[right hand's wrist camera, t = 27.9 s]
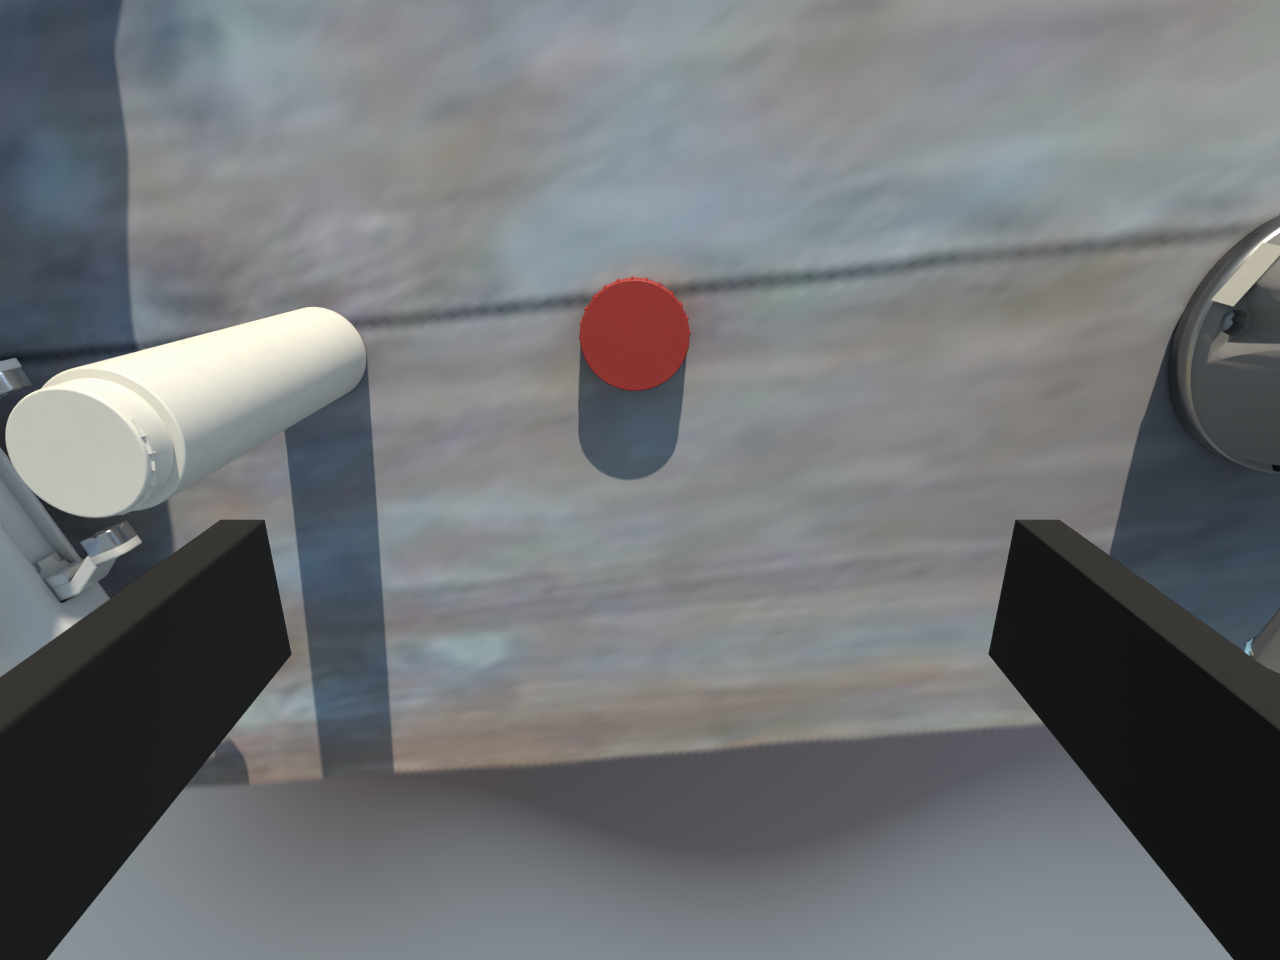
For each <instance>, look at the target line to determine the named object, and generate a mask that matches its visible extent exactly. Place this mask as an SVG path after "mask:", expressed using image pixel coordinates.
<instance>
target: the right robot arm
mask: <svg viewBox="0 0 1280 960" xmlns="http://www.w3.org/2000/svg"><path fill="white" fill-rule="evenodd" d="M1169 383H1170V391H1171V396H1172V401H1173V404H1174V407H1175V409H1176V412H1177V414H1178V416H1179V418H1180V420H1181V422H1182V423H1183V425H1184V427H1185V428H1186V430H1187V431H1188V432H1189V433H1190V434H1191V436H1192V437H1193V438H1194V439H1195V440H1196V441H1198V442H1199V443H1200V444H1201V445H1202V446H1204V447H1205V448H1206V449H1208V450H1209V451H1211V452H1213V453H1215V454H1217V455H1219V456H1221V457H1223V458H1226V459H1228V460H1230V461H1233V462H1235V463H1238V464H1240V465H1243V466H1245V467H1248V468H1251V469H1254V470H1258V471H1262V472H1267V473H1274V474H1280V215H1279V216H1278V217H1276V218H1274V219H1272V220H1270V221H1268V222H1266V223H1265V224H1263V225H1262V226H1260V227H1259V228H1257V229H1255V230H1254V231H1252V232H1251V233H1250V234H1248V235H1247V236H1246V237H1244V238H1243V239H1242V240H1240V241H1239V242H1238V243H1237V244H1236V245H1235V246H1234V247H1232V248H1231V249H1230V250H1229V251H1228V252H1227V253H1226V254H1225V255H1224V256H1223V257H1222V258H1221V259H1220V260H1219V261H1218V262H1217V263H1216V264H1215V265H1214V267H1213V268H1212V269H1211V270H1210V271H1209V272H1208V274H1207V275H1206V276H1205V278H1204V279H1203V280H1202V282H1201V283H1200V285H1199V286H1198V287H1197V289H1196V291H1195V292H1194V294H1193V295H1192V297H1191V299H1190V300H1189V302H1188V304H1187V306H1186V308H1185V310H1184V312H1183V314H1182V317H1181V319H1180V322H1179V324H1178V327H1177V330H1176V333H1175V336H1174V339H1173V344H1172V349H1171V354H1170V362H1169ZM290 656H291V650H290V645H289V640H288V635H287V630H286V625H285V620H284V615H283V610H282V605H281V600H280V595H279V590H278V585H277V580H276V575H275V570H274V565H273V560H272V555H271V550H270V545H269V540H268V535H267V530H266V525H265V520H220V521H218V522H217V523H215V524H214V525H213V526H211V527H210V528H208V529H207V530H206V531H204V532H203V533H201V534H200V535H199V536H197V537H196V538H194V539H193V540H192V541H190V542H189V543H187V544H186V545H185V546H183V547H182V548H180V549H179V550H178V551H176V552H175V553H173V554H172V555H171V556H169V557H168V558H166V559H165V560H164V561H162V562H161V563H159V564H158V565H157V566H155V567H154V568H152V569H151V570H150V571H148V572H147V573H145V574H144V575H143V576H141V577H140V578H138V579H137V580H136V581H134V582H133V583H131V584H130V585H129V586H127V587H126V588H124V589H123V590H122V591H120V592H119V593H117V594H116V595H115V596H113V597H112V598H110V599H109V600H108V601H106V602H105V603H103V604H102V605H101V606H99V607H98V608H96V609H95V610H94V611H92V612H91V613H89V614H88V615H87V616H85V617H84V618H82V619H81V620H80V621H78V622H77V623H75V624H74V625H73V626H71V627H70V628H68V629H67V630H66V631H64V632H63V633H61V634H60V635H59V636H57V637H56V638H54V639H53V640H52V641H50V642H49V643H47V644H46V645H45V646H43V647H42V648H40V649H39V650H38V651H36V652H35V653H33V654H32V655H31V656H29V657H28V658H26V659H25V660H24V661H22V662H21V663H19V664H18V665H17V666H15V667H14V668H12V669H11V670H10V671H8V672H7V673H5V674H4V675H3V676H1V677H0V960H46V959H47V958H48V957H49V956H50V954H51V953H52V952H53V951H54V949H55V948H56V947H57V946H58V944H59V943H60V942H61V941H62V939H63V938H64V937H65V936H66V935H67V933H68V932H69V931H70V930H71V928H72V927H73V926H74V925H75V923H76V922H77V921H78V919H79V918H80V917H81V916H82V915H83V913H84V912H85V911H86V910H87V908H88V907H89V906H90V905H91V903H92V902H93V901H94V900H95V898H96V897H97V896H98V895H99V893H100V892H101V891H102V890H103V888H104V887H105V886H106V885H107V883H108V882H109V881H110V880H111V878H112V877H113V876H114V875H115V873H116V872H117V871H118V870H119V868H120V867H121V866H122V865H123V864H124V862H125V861H126V860H127V859H128V857H129V856H130V855H131V854H132V852H133V851H134V850H135V849H136V847H137V846H138V845H139V844H140V842H141V841H142V840H143V839H144V837H145V836H146V835H147V834H148V832H149V831H150V830H151V829H152V827H153V826H154V825H155V824H156V822H157V821H158V820H159V819H160V817H161V816H162V815H163V814H164V812H165V811H166V810H167V809H168V807H169V806H170V805H171V804H172V802H173V801H174V800H175V799H176V798H177V796H178V795H179V794H180V793H181V791H182V790H183V789H184V788H185V786H186V785H187V784H188V783H189V781H190V780H191V779H192V778H193V776H194V775H195V774H196V773H197V771H198V770H199V769H200V768H201V766H202V765H203V764H204V763H205V761H206V760H207V759H208V758H209V756H210V755H211V754H212V753H213V751H214V750H215V749H216V748H217V746H218V745H219V744H220V743H221V741H222V740H223V739H224V738H225V736H226V735H227V734H228V733H229V732H230V730H231V729H232V728H233V727H234V725H235V724H236V723H237V722H238V720H239V719H240V718H241V717H242V715H243V714H244V713H245V712H246V710H247V709H248V708H249V707H250V705H251V704H252V703H253V702H254V700H255V699H256V698H257V697H258V695H259V694H260V693H261V692H262V690H263V689H264V688H265V687H266V685H267V684H268V683H269V682H270V680H271V679H272V678H273V677H274V675H275V674H276V673H277V672H278V670H279V669H280V668H281V667H282V666H283V664H284V663H285V662H286V661H287V659H288V658H289V657H290ZM989 656H990V657H991V658H992V659H993V661H994V662H995V663H996V664H997V666H998V667H999V668H1000V669H1001V670H1002V672H1003V673H1004V674H1005V675H1006V677H1007V678H1008V679H1009V680H1010V682H1011V683H1012V684H1013V685H1014V687H1015V688H1016V689H1017V690H1018V692H1019V693H1020V694H1021V695H1022V697H1023V698H1024V699H1025V700H1026V702H1027V703H1028V704H1029V705H1030V707H1031V708H1032V709H1033V710H1034V712H1035V713H1036V714H1037V715H1038V717H1039V718H1040V719H1041V720H1042V722H1043V723H1044V724H1045V725H1046V727H1047V728H1048V729H1049V730H1050V731H1051V733H1052V734H1053V735H1054V736H1055V738H1056V739H1057V740H1058V741H1059V743H1060V744H1061V745H1062V746H1063V748H1064V749H1065V750H1066V751H1067V753H1068V754H1069V755H1070V756H1071V758H1072V759H1073V760H1074V761H1075V763H1076V764H1077V765H1078V766H1079V768H1080V769H1081V770H1082V771H1083V773H1084V774H1085V775H1086V776H1087V778H1088V779H1089V780H1090V781H1091V783H1092V784H1093V785H1094V786H1095V788H1096V789H1097V790H1098V791H1099V792H1100V794H1101V795H1102V796H1103V798H1104V799H1105V800H1106V801H1107V803H1108V804H1109V805H1110V806H1111V807H1112V809H1113V810H1114V811H1115V812H1116V814H1117V815H1118V816H1119V817H1120V819H1121V820H1122V821H1123V822H1124V824H1125V825H1126V826H1127V827H1128V829H1129V830H1130V831H1131V832H1132V834H1133V835H1134V836H1135V837H1136V839H1137V840H1138V841H1139V842H1140V844H1141V845H1142V846H1143V847H1144V849H1145V850H1146V851H1147V852H1148V854H1149V855H1150V856H1151V857H1152V859H1153V860H1154V861H1155V862H1156V864H1157V865H1158V866H1159V867H1160V869H1161V870H1162V871H1163V872H1164V873H1165V875H1166V876H1167V877H1168V878H1169V880H1170V881H1171V882H1172V883H1173V885H1174V886H1175V887H1176V888H1177V890H1178V891H1179V892H1180V893H1181V895H1182V896H1183V897H1184V898H1185V900H1186V901H1187V902H1188V903H1189V905H1190V906H1191V907H1192V908H1193V910H1194V911H1195V912H1196V913H1197V914H1198V916H1199V917H1200V918H1201V920H1202V921H1203V922H1204V923H1205V925H1206V926H1207V927H1208V928H1209V930H1210V931H1211V932H1212V933H1213V934H1214V936H1215V937H1216V938H1217V939H1218V941H1219V942H1220V943H1221V944H1222V946H1223V947H1224V948H1225V949H1226V951H1227V952H1228V953H1229V954H1230V956H1231V957H1232V958H1233V959H1234V960H1280V609H1279V610H1278V611H1277V612H1276V614H1275V615H1274V616H1273V617H1272V618H1271V620H1270V621H1269V622H1268V623H1267V625H1266V626H1265V627H1264V628H1263V629H1262V631H1261V632H1260V633H1259V634H1258V636H1256V637H1254V638H1253V639H1251V640H1249V641H1248V642H1247V643H1246V644H1245V645H1244V647H1243V649H1242V650H1241V649H1240V648H1238V647H1237V646H1235V645H1234V644H1233V643H1231V642H1230V641H1228V640H1227V639H1226V638H1224V637H1223V636H1221V635H1220V634H1219V633H1217V632H1216V631H1214V630H1213V629H1212V628H1210V627H1209V626H1207V625H1206V624H1205V623H1203V622H1202V621H1200V620H1199V619H1198V618H1196V617H1195V616H1193V615H1192V614H1191V613H1189V612H1188V611H1186V610H1185V609H1184V608H1182V607H1181V606H1179V605H1178V604H1177V603H1175V602H1174V601H1172V600H1171V599H1170V598H1168V597H1167V596H1165V595H1164V594H1163V593H1161V592H1160V591H1158V590H1157V589H1156V588H1154V587H1153V586H1151V585H1150V584H1149V583H1147V582H1146V581H1144V580H1143V579H1142V578H1140V577H1139V576H1137V575H1136V574H1135V573H1133V572H1132V571H1130V570H1129V569H1128V568H1126V567H1125V566H1123V565H1122V564H1121V563H1119V562H1118V561H1116V560H1115V559H1114V558H1112V557H1111V556H1109V555H1108V554H1107V553H1105V552H1104V551H1102V550H1101V549H1100V548H1098V547H1097V546H1095V545H1094V544H1093V543H1091V542H1090V541H1088V540H1087V539H1086V538H1084V537H1083V536H1081V535H1080V534H1079V533H1077V532H1076V531H1074V530H1073V529H1072V528H1070V527H1069V526H1067V525H1066V524H1065V523H1063V522H1062V521H1060V520H1015V525H1014V530H1013V535H1012V540H1011V545H1010V550H1009V555H1008V560H1007V565H1006V570H1005V575H1004V580H1003V585H1002V590H1001V595H1000V600H999V605H998V610H997V615H996V620H995V625H994V630H993V635H992V640H991V645H990V650H989Z"/></svg>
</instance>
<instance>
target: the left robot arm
mask: <svg viewBox="0 0 1280 960" xmlns="http://www.w3.org/2000/svg"><path fill="white" fill-rule="evenodd" d="M33 385H34V384H33V382H32V381H31V379H30V378H29V376H28V375H27V373H26V372H25V370H24V369H23V367H22V366H21V364H20V363H19V361H18V360H17V359H16V358H12V359H8V360H3V361H0V398H1V397H5V396H8V395H11V394H14V393H16V392H18V391H21V389H24V388H28V387H30V386H33ZM80 543H81V545H82V546H83V548H84V549H85V551H86V552H87V554H88V556H87V557H86V558H83V559H81V558H80V556H79V555H78V554H77V552H76V551H75V549H74V548H73V547H72V545H71V544H70V542H69V541H68V540H67V538H66V537H65V536H64V534H63V533H62V531H61V530H60V529H59V527H58V526H57V524H56V523H55V522H54V520H53V519H52V518H51V516H50V515H49V513H48V512H47V511H46V509H45V508H44V507H43V505H42V504H41V502H40V501H39V500H38V498H37V497H36V495H35V494H34V493H33V491H32V490H31V489H29V488H28V486H27V485H26V484H25V483H24V482H23V481H22V479H21V478H20V476H19V475H18V473H17V472H16V470H15V468H14V466H13V465H12V462H11V461H10V460H9V458H8V457H7V455H6V454H5V453H4V451H3V450H2V448H1V447H0V677H1V676H3V675H4V674H5V673H7V672H8V671H10V670H11V669H12V668H14V667H15V666H17V665H18V664H19V663H21V662H22V661H24V660H25V659H26V658H28V657H29V656H31V655H32V654H33V653H35V652H36V651H38V650H39V649H40V648H42V647H43V646H45V645H46V644H47V643H49V642H50V641H52V640H53V639H54V638H56V637H57V636H59V635H60V634H61V633H63V632H64V631H66V630H67V629H68V628H70V627H71V626H73V625H74V624H75V623H77V622H78V621H80V620H81V619H82V618H84V617H85V616H87V615H88V614H89V613H91V612H92V611H94V610H95V609H96V608H98V607H99V606H101V605H102V604H103V603H105V602H106V601H108V600H109V599H110V598H109V596H108V595H107V594H106V592H105V591H104V589H103V588H102V587H101V585H100V584H99V583H98V581H99V580H101V579H102V578H104V577H105V576H107V574H108V573H109V571H110V569H111V568H112V566H113V564H114V562H115V561H116V559H117V557H119V556H121V555H123V554H125V553H127V552H129V551H130V550H132V549H133V548H135V547H136V546H138V545H139V544H141V543H142V541H141V539H140V538H139V537H138V535H137V534H136V532H135V531H134V530H133V528H132V527H131V525H130V524H129V523H128V521H127V520H124V521H122V522H120V523H118V524H116V525H112V526H109V527H107V528H104V529H102V530H100V531H98V532H97V533H95V535H92V536H90V537H88V538H86V539H84V540H83V541H81V542H80Z"/></svg>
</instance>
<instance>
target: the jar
mask: <svg viewBox="0 0 1280 960" xmlns="http://www.w3.org/2000/svg"><path fill="white" fill-rule="evenodd" d="M365 367H366V351H365V347H364V344H363V341H362V339H361V337H360V335H359V333H358V332H357V330H356V329H355V328H354V327H353V325H352V324H351V323H350V322H349V321H347V320H346V319H345V318H344V317H342V316H341V315H339V314H337V313H335V312H333V311H331V310H328V309H325V308H319V307H307V308H302V309H298V310H295V311H291V312H287V313H283V314H279V315H275V316H272V317H268V318H264V319H260V320H256V321H252V322H249V323H245V324H241V325H237V326H233V327H229V328H226V329H222V330H218V331H214V332H210V333H206V334H203V335H199V336H195V337H191V338H187V339H183V340H180V341H176V342H172V343H168V344H164V345H161V346H157V347H153V348H149V349H145V350H141V351H138V352H134V353H130V354H126V355H122V356H118V357H115V358H111V359H107V360H103V361H99V362H95V363H92V364H88V365H84V366H80V367H76V368H72V369H69V370H66V371H64V372H61V373H59V374H57V375H56V376H54V377H53V378H51V379H50V380H49V381H48V382H46V384H45V385H44V386H43V387H42V388H41V389H40V390H37V391H34V392H32V393H30V394H29V395H27V396H25V397H24V398H23V399H22V400H21V401H19V403H18V404H17V405H16V406H15V407H14V409H13V410H12V412H11V414H10V416H9V419H8V421H7V426H6V437H5V439H6V447H7V451H8V455H9V457H10V460H11V462H12V465H13V466H14V468H15V470H16V472H17V473H18V475H19V476H20V478H21V479H22V481H23V482H24V483H25V484H26V485H27V486H28V488H29V489H31V490H32V491H33V492H34V493H35V494H36V495H37V496H38V497H40V498H41V499H42V500H44V501H45V502H47V503H48V504H50V505H51V506H53V507H55V508H57V509H59V510H61V511H64V512H66V513H69V514H73V515H76V516H81V517H87V518H104V517H110V516H115V515H124V514H126V513H128V512H131V511H138V510H143V509H148V508H151V507H154V506H156V505H158V504H160V503H162V502H164V501H165V500H167V499H169V498H170V497H172V496H174V495H176V494H177V493H179V492H181V491H182V490H184V489H186V488H187V487H189V486H191V485H192V484H194V483H196V482H198V481H199V480H201V479H203V478H204V477H206V476H208V475H209V474H211V473H213V472H214V471H216V470H218V469H220V468H221V467H223V466H225V465H226V464H228V463H230V462H231V461H233V460H235V459H237V458H238V457H240V456H242V455H243V454H245V453H247V452H248V451H250V450H252V449H253V448H255V447H257V446H259V445H260V444H262V443H264V442H265V441H267V440H269V439H270V438H272V437H274V436H275V435H277V434H279V433H281V432H282V431H284V430H286V429H287V428H289V427H291V426H292V425H294V424H296V423H297V422H299V421H301V420H303V419H304V418H306V417H308V416H309V415H311V414H313V413H314V412H316V411H318V410H319V409H321V408H323V407H325V406H326V405H328V404H330V403H331V402H333V401H335V400H336V399H338V398H340V397H342V396H343V395H345V394H347V393H348V392H350V391H351V390H353V389H354V388H355V387H356V386H357V385H358V383H359V382H360V381H361V379H362V377H363V374H364V372H365Z"/></svg>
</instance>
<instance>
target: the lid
mask: <svg viewBox="0 0 1280 960" xmlns="http://www.w3.org/2000/svg"><path fill="white" fill-rule="evenodd" d="M592 298H593V299H592V301H591V302H590V304H589V306H588V307H587V306H586V308H585V313H584V316H583V318H582V320H581V322H580V324H581V327H580V336H579V339H580V343H581V349H582V353H583V355H584V357H585V360H586V362H587V363H588V366H589V367H590V368H591V369H592V371H593V372H594V373H595V374H596V375H597V376H598V377H599V378H600V379H602V380H603V381H604V382H606V383H608V384H609V385H612V386H614V387H616V388H620V389H623V390H629V391H640V390H646V389H650V388H653V387H656V386H658V385H660V384H662V383H664V382H665V381H667V380H668V379H669V378H670V377H671V376H673V375H674V374H675V373H676V371H677V370H678V369H679V367H680V366H681V364H682V363H683V362H684V359H685V356H686V354H687V350H688V349H689V336H690V334H691V333H690V330H689V325H688V320H689V319H688V317H687V315H685V312H684V310H683V308H682V306H683V305H682V303H681V302H680V303H679V301H678V300H677V298H676V297H675V296H674V293H673V292H672V291H671V292H670V291H669V290H668V289H666V288H665V287H664V286H662V284H661V283H659V284H658V283H656V282H654V281H651V280H648V278H646V279H643V278H633V276H632V277H631V278H626V279H622V280H619V279H617V281H616V282H613V283H611V284H609V285H608V286H606V285H605V286H604V287H603V289H602V290H601V291H600V292H599V293H598V294H597V295H595V294H594V296H593V297H592Z"/></svg>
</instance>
